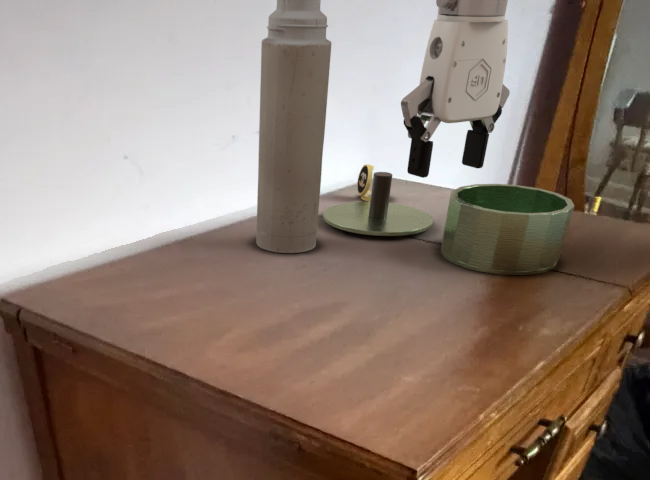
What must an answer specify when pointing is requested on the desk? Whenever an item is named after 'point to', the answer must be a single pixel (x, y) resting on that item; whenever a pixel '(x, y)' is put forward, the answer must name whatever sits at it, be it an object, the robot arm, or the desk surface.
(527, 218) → the tin
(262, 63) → the thermos bottle
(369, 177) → the eyeshadow
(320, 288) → the desk surface
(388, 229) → the lid
